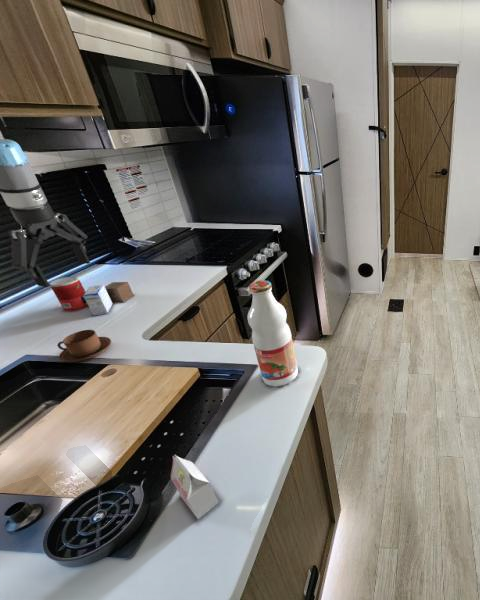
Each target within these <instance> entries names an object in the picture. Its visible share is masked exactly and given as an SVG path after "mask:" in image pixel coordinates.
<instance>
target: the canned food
mask: <svg viewBox="0 0 480 600" xmlns="http://www.w3.org/2000/svg"><path fill="white" fill-rule="evenodd" d="M49 285H50V286H49V287H50V288H51V290H52V291H53V293H54V295H55V297H56V299H57V301H58V303H59V304H60V305H61V307H62V309H63V310H64V311H66V312H75V311H80V310H83V309H85V308H87V307H89V306H88V304H87V302H86V300H85V298H84V296H83V295H84V294H85V292H86V290H85V288H84V285H83V284H82V282H81V280H80V279H79V277H78V276H66V277H65V276H64V277H61V278H58V279H55V280H53V281H51V282H50V283H49Z"/></svg>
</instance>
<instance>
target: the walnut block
mask: <svg viewBox="0 0 480 600" xmlns="http://www.w3.org/2000/svg"><path fill="white" fill-rule="evenodd" d="M104 286H105V285H104ZM105 288H106V290H107V293H108V295H109V297H110V299H111V301H112V303H124V302H126V301H127V300H129V299H130V298H132V297H134V292H133V291H132V289H131V286H130V283H129V282H128V281H112V282H111V283H109V284H107V285H106V286H105Z"/></svg>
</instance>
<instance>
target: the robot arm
mask: <svg viewBox="0 0 480 600" xmlns="http://www.w3.org/2000/svg"><path fill="white" fill-rule="evenodd" d="M0 195H1V197H2V199H3V201H4V203H5V204H6V206H7V207H9V211H10V213H11V214H12V216H13V218H14V220H15V221H16V222H17V223H18V224H19V225H20V229H17V230H12V229H11V230H8V235H9V237H10V240H11V266H12V268H13V269H17V270H18V269H19V270H24V271H25V272H26V274H27V275H28V277H29V278H31V279H33V280H34V282H35V284H36V285H37V286H38V287H44V288H49V287H51V286H50V283H49V281H48V280H47V278H46V275H45V274H44V273H43V270H42V269H41V268H40V266H39V265H37V264H36V262H37V258H38V255H39V251H40V247H41V245H42V244H43V242H44V241H46V240H48V239H49V238H51V237H54V236H55V235H57V236H58V237H61V238H63V239H66V240H68V241H70V242H72V243H70V246H71V248H72V250H73V252H74V254H75V256H76V258H77V260H78V262H79V263H80V264H87V265H89V264H90V263H91V261H90V259H89V257H88V255H87V248H86V246H85V244H86V243H87V239H88V235H87V234H86V233H85V232H84V231H82V230H81V229H80V228H79V227H77V226H76V225H75V223H73V222H72V221H70V220H69V218H68V216H67V215H66V214H64V213H59V212H54V211H53V209H52V207H51V204H50V203H48V199H47V196H46V195H45V192H44V191H43V189H42V186H41V185H40V182H39V181H38V178H37V176H36V174H35V172H34V170H33V168H32V166H31V164H30V162H29V158H28V157H27V155H26V154H25V152H24V151H23V149H22V147H21V146H20V144H19V143H18V142H17V141H14V140H12V139H9V138H5V139H3V138H0ZM58 224H59V225H60V226H62V227H64V229H62V228H60V227H59V226H58ZM66 230H67V231H66Z"/></svg>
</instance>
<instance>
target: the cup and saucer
mask: <svg viewBox="0 0 480 600" xmlns="http://www.w3.org/2000/svg"><path fill="white" fill-rule="evenodd" d="M62 344H63V345H64V347H63V346H61V345H62ZM111 344H112V340H111V338H110V337H107V336H98V334H97V332H96V330H94V329H85V330H84V329H82V330H80V331H76V332H74V333H71V334H69V335H67V336H66V337H65V338H64V339H63V340H61V341H59V342H58V343H57V348H58V349H59V350H61V352H60V354H59V356H58V358H59V359H60V360H61V361H63V362H66V363H78V362H83V361H87V360H90V359H93V358H95V357H97V356H99V355H101V354H103V353H104V352H106V350H108V349H109V347H110V346H111Z"/></svg>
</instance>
